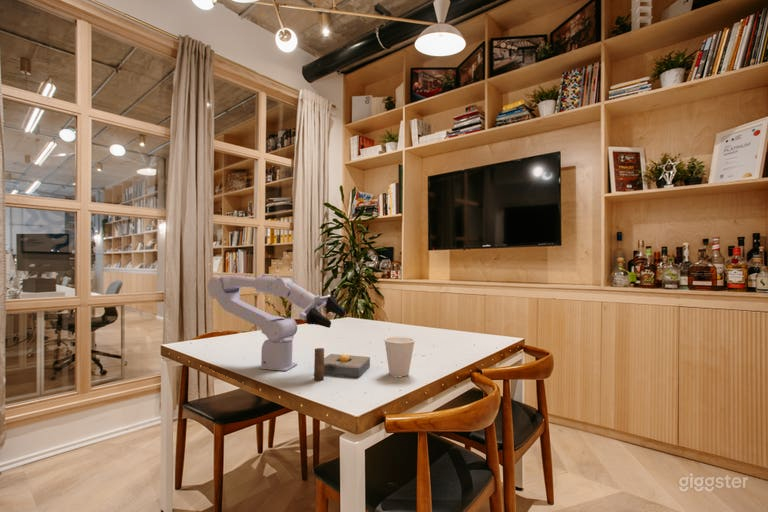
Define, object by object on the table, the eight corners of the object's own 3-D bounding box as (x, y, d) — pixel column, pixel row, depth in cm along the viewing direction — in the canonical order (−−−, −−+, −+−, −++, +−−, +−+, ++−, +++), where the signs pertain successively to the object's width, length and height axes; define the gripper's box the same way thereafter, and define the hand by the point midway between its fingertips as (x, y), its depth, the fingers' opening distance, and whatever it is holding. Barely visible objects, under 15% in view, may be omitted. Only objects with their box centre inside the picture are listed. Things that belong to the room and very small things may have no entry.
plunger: (337, 363, 120) (337, 356, 120) (341, 360, 123) (341, 354, 123) (347, 363, 119) (347, 357, 119) (350, 361, 122) (350, 355, 122)
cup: (378, 371, 121) (379, 337, 121) (406, 368, 124) (407, 335, 124) (390, 380, 111) (390, 343, 112) (420, 377, 115) (420, 341, 115)
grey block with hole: (316, 373, 117) (316, 362, 117) (330, 363, 129) (330, 353, 129) (359, 377, 114) (359, 366, 114) (369, 367, 125) (370, 357, 125)
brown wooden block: (312, 380, 110) (313, 349, 111) (316, 377, 113) (317, 347, 113) (321, 381, 110) (321, 350, 110) (325, 378, 112) (325, 348, 113)
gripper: (290, 298, 113) (325, 319, 108) (320, 281, 125) (353, 299, 120) (287, 316, 116) (321, 338, 111) (316, 298, 128) (348, 317, 123)
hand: (337, 319), depth 116 cm, fingers open, 7 cm apart
